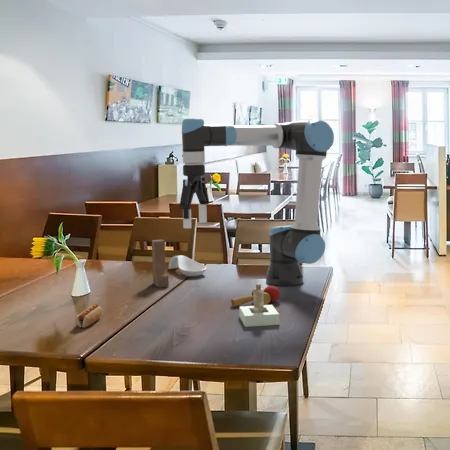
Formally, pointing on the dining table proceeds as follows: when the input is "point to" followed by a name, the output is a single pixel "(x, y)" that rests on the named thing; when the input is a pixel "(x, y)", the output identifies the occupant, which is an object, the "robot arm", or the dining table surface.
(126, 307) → the dining table surface
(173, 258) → the spoon rest
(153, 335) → the dining table surface
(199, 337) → the dining table surface
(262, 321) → the peg hole block
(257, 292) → the beige bottle
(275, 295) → the kendama
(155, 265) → the wooden block
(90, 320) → the food
